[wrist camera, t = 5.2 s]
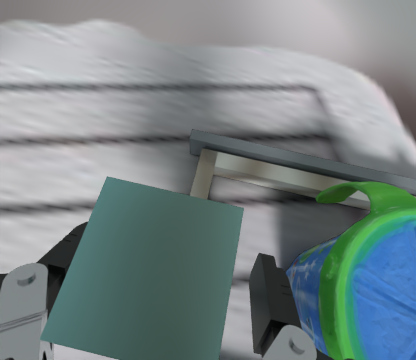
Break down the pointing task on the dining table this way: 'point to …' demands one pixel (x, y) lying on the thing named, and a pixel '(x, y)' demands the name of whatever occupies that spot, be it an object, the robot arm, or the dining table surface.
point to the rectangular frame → (295, 160)
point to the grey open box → (163, 264)
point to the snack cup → (362, 279)
